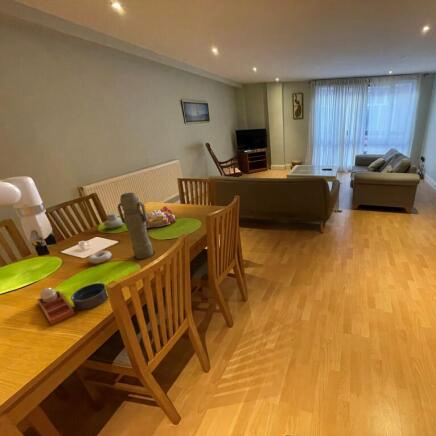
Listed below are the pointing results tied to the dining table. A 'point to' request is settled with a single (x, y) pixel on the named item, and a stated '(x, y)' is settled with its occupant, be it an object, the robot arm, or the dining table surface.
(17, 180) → the robot arm
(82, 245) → the teacup and saucer
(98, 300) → the bowl
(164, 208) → the candy landscape model
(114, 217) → the air freshener
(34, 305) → the dining table surface
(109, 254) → the donut
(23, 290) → the dining table surface
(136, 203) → the grey tall piece
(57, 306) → the brown compartment tray
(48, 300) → the egg
